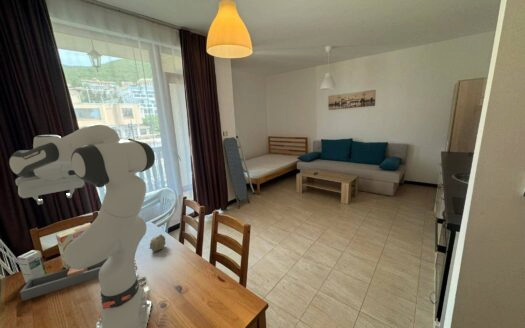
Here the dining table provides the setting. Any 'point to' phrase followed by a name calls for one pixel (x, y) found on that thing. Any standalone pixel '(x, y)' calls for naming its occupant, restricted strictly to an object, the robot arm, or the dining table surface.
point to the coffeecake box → (69, 239)
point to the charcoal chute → (57, 281)
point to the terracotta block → (75, 271)
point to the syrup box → (32, 265)
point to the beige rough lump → (157, 243)
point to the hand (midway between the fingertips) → (55, 200)
